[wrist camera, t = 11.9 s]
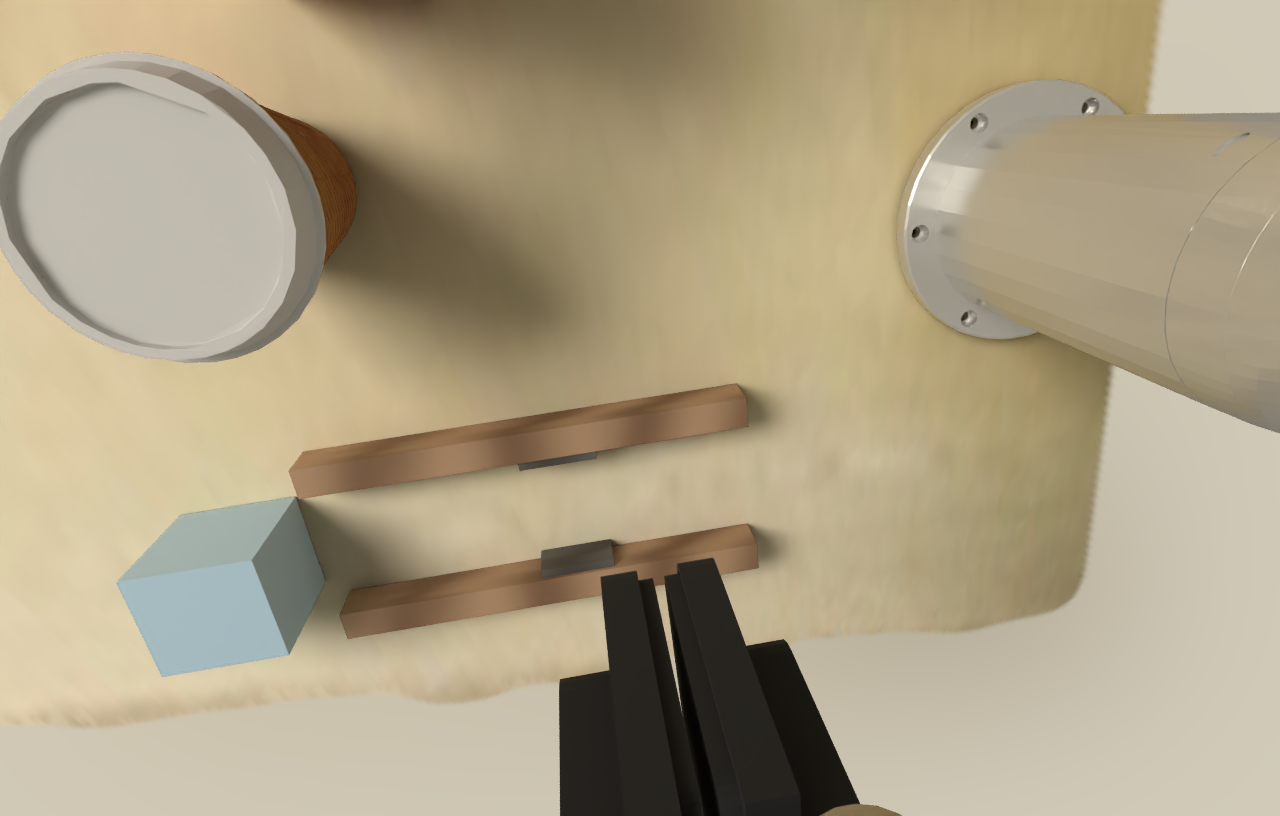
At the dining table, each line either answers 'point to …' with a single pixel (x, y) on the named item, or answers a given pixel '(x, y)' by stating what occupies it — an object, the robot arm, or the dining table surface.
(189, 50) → the dining table surface
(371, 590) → the chute
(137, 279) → the disposable coffee cup
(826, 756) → the robot arm
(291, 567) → the block
